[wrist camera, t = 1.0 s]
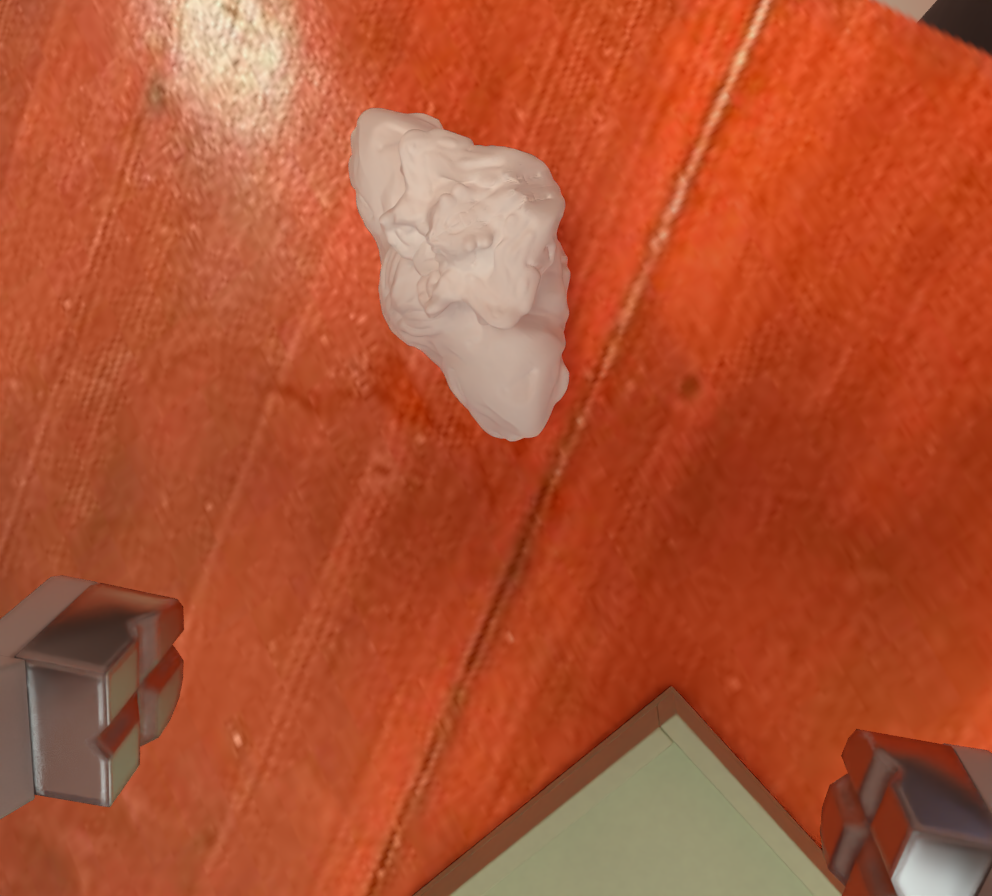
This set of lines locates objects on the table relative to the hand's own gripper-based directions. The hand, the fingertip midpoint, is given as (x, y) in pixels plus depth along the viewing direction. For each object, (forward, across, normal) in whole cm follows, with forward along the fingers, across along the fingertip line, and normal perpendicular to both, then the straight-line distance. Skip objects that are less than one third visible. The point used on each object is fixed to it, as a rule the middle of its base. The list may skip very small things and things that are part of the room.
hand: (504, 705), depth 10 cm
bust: (+23, +3, 0) cm, 24 cm away
